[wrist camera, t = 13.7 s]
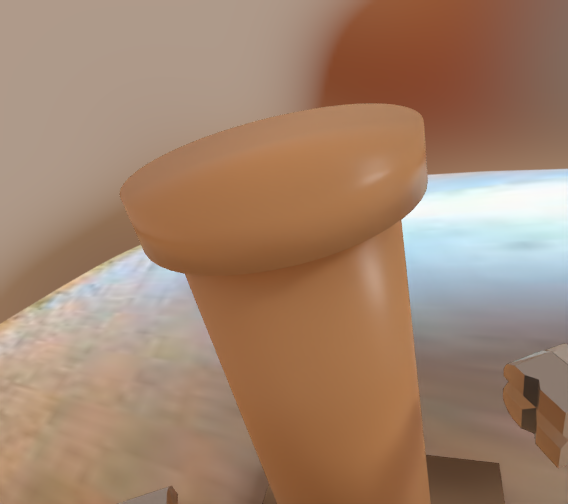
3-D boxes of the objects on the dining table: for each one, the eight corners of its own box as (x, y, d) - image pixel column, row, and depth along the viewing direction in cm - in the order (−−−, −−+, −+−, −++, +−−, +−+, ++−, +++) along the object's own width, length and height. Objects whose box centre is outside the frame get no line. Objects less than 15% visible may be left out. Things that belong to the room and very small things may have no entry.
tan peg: (315, 482, 21) (203, 128, 13) (451, 502, 19) (424, 88, 10) (278, 644, 16) (48, 225, 8) (460, 698, 14) (421, 188, 5)
